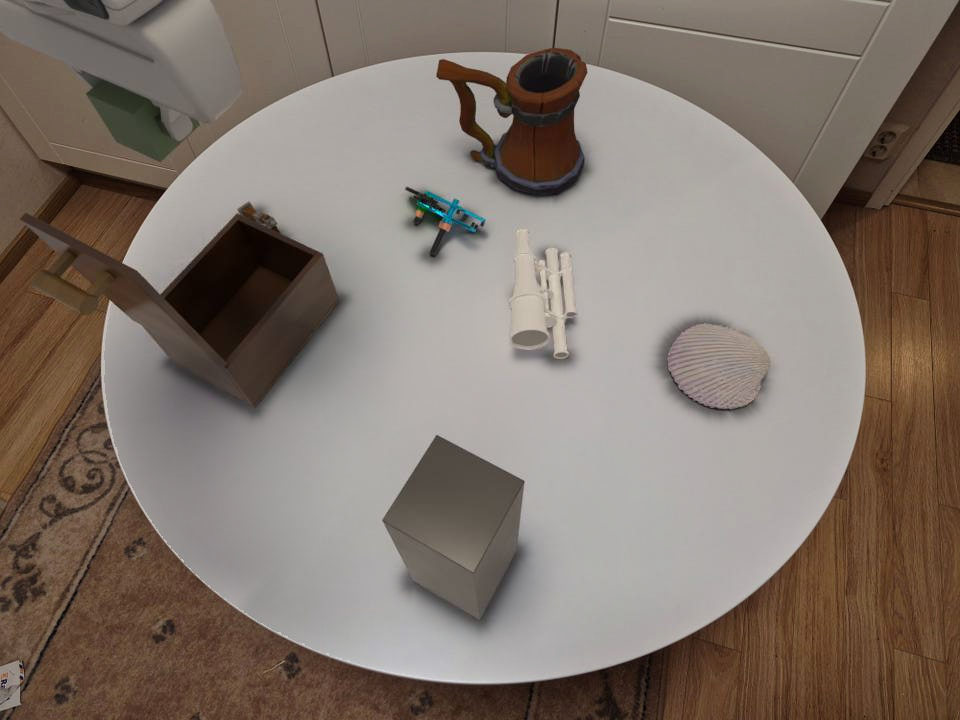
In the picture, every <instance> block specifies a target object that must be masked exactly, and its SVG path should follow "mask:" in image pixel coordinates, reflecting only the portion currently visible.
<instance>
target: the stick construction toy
mask: <svg viewBox="0 0 960 720" xmlns="http://www.w3.org/2000/svg"><path fill="white" fill-rule="evenodd" d="M404 190H405V191H407V192H409V193H410V194H412V196H411V198H412V199H414V200H416V201H417V203H416V205H417V206H418V207H417V209H416V211H415V213H414V216H415V217H414V219H413V220H412V221H413V222H412V223H414V224H415V225H418V224H419V222H420V220H421V219H422V218H423V216H424V214H425V212H426V211H427V210H428V211H429V212H432V213H434V214H436V215H438V216H439V217H442V219H441V220H440V221H439V223H438V226H437V227H438V228H439V230H438V232H437V234H436V237H435V239H434V241H433V243H432V245H431V248H430V249H429V252H428V254H430V255H431V256H434V257H435V256H436V255H437V253H438V250H439V248H440V246H441V245H442V242H443V239H444V237H445V235H446V233H447V232H450V231H451V228H452V224H453V223H454V224H457V225H459V226H460V227H462V228H465V229H466V230H469V231H471V232H473V233H476V232H477V230H478V228H479V226H480V227H482V228H483V227H484V226H485V224H486V221H487V219H485V218H484V217H481V216H480V215H478V214H475V213H473V212H470V211H469V210H467V209H465V208H463V207H462V206H461V205H459V204H460V200H459V199H457V198H453V199H452V201H448V200H447V199H445V198H442V196H439V195H436V194H435V193H434V192H431V191H429V190H427V189H426V190H425V191H424V193H421V192H420V191H418V190H416V189H413V188H411V187H409V186H407V185H405V187H404ZM440 203H441V204H444V205H445V206H449V208H448V210H447V209H445V208H442V207H440V205H439V204H440ZM460 213H462V214H463V215H462V220H463V219H464V220H466V218H467V216H469V217H471V218H474V219H476V220H478V221H480V224H479V225H478V224H477V223H475V222H474V221H471V224H470V225H469V224H467V223H465V222H462V221H460V220H459V219H456V218H454V215H455V214H456V215H460Z"/></svg>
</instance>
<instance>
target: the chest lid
mask: <svg viewBox="0 0 960 720" xmlns="http://www.w3.org/2000/svg"><path fill="white" fill-rule="evenodd" d="M19 220H20V222H22V223H23V224H24V225H25V226H26V227H27V228H28V229H29V230H31V231H32V232H33V233H34V234H35V235H36V236H38V237H39V238H40V239H41V240H42V241H43V242H44V243H45V244H46V245H48V246H49V247H50V248H51V249H52V250H53V251H54V252H55V253H56V254H58V256H59V257H58V258H57V259H56V260H55V262H54V263H53V264H52V265H51V266H49V268H48V269H40V270H38V271H37V272H36V273H34V275H33V276H32V279H31V285H32V286H33V288H34V289H36V290H37V291H39V292H41V293H42V294H43V293H44V294H45V295H47V296H48V297H50V298H52V299H54V300H55V301H57V302H59V303H61V304H63V305H65V306H66V307H67V308H70V309H71V310H74V311H75V312H77V313H79V314H81V315H83V316H90V315H92V314H94V313H95V312H96V311H97V309H98V307H99V299H100V297H101V296H102V295H103V296H104V297H106V298H107V299H108V300H109V301H110V302H111V303H112V304H113V305H115V306H116V307H117V308H118V309H119V310H120V311H121V312H122V313H123V314H125V315H126V316H127V317H128V318H129V319H130V320H131V321H133V322H135V323H136V324H139V325H141V327H143V326H144V327H146V328H148V329H149V330H151V331H153V332H155V333H157V334H159V335H160V336H162V337H164V338H166V339H168V340H170V341H171V342H173V343H175V344H177V345H179V346H180V347H182V348H184V349H186V350H188V351H190V352H191V353H193V354H195V355H197V356H199V357H201V358H202V359H204V360H206V361H208V362H210V363H212V364H213V365H215V366H217V367H219V368H221V369H224V367H225V366H226V365H227V363H226V362H225V361H224V360H223V359H222V358H221V357H220V356H219V355H218V354H217V353H216V352H215V351H214V350H213V349H212V347H211V346H210V345H209V344H208V343H207V342H206V341H205V340H204V339H203V338H202V337H201V336H200V335H199V334H198V333H197V332H196V331H195V330H194V329H193V328H192V327H191V326H190V325H189V324H188V323H187V322H186V321H185V320H184V319H183V318H182V316H181V315H180V314H179V313H178V312H177V311H176V310H175V309H174V308H173V307H172V306H171V305H170V304H169V303H168V302H167V301H166V300H165V299H164V298H163V297H162V296H161V295H160V294H161V293H159V292H158V290H157V289H156V288H155V287H154V286H153V285H152V284H151V283H150V282H149V281H148V280H147V279H146V278H145V277H144V276H143V275H142V274H141V273H140V272H139V271H138V270H137V269H135V268H133V267H131V266H130V265H127V264H125V263H123V262H121V261H119V260H117V258H114V257H112V256H110V255H108V254H106V253H104V252H102V251H100V250H99V249H96V248H94V247H92V246H90V245H89V244H87V243H85V242H83V241H81V240H79V239H78V238H75V237H73V236H72V235H70V234H68V233H65V231H62V230H60V229H59V228H56V227H54V226H52V225H51V224H48V222H45V221H43V220H41V219H39V218H38V217H36V216H33V215H31V214H30V213H27V212H25V213H24V214H23V215H22V216H21V217H20V218H19ZM70 267H71V268H73V269H74V270H76V272H77V273H79V274H80V275H81V277H83V278H84V279H85V280H87V282H89V283H90V285H89V287H88V288H87V289H86V290H85V289H84V288H83V289H82V288H81V287H79V286H77V285H75V284H74V283H72V282H70V281H68V280H66V279H64V278H62V276H63V275H64V273H66V272H67V270H68V269H69V268H70Z"/></svg>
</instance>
